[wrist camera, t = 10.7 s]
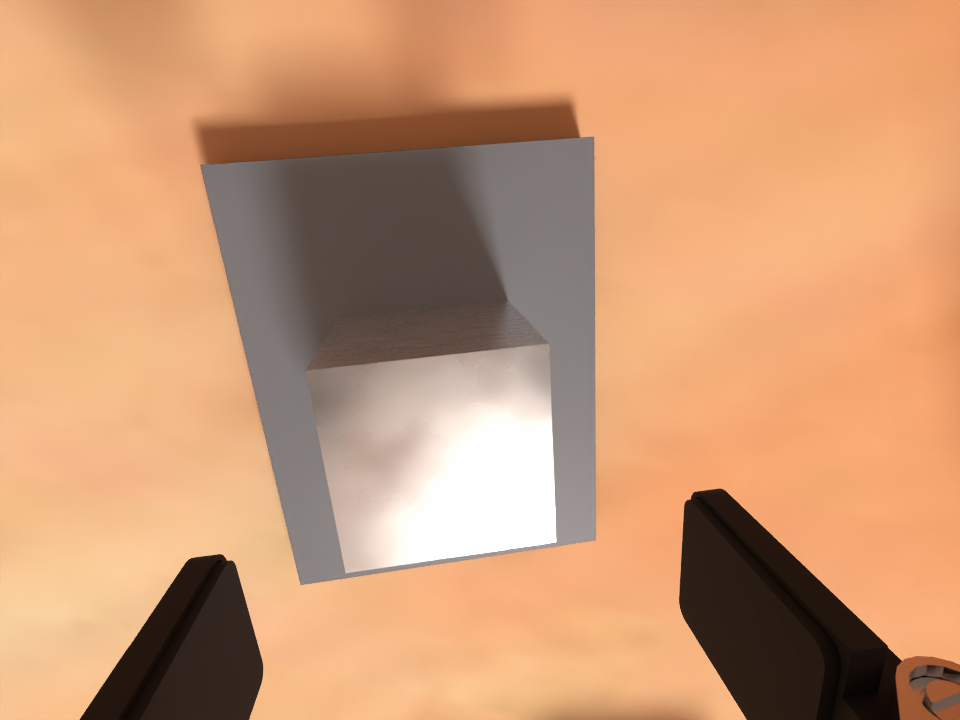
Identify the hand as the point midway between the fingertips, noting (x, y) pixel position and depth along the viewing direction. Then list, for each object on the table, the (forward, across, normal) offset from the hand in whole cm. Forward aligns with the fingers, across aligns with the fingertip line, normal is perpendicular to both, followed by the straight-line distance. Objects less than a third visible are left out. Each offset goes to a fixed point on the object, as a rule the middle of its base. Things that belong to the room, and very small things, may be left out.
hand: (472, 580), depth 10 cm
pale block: (+11, +1, 0) cm, 11 cm away
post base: (+12, +1, 0) cm, 13 cm away
